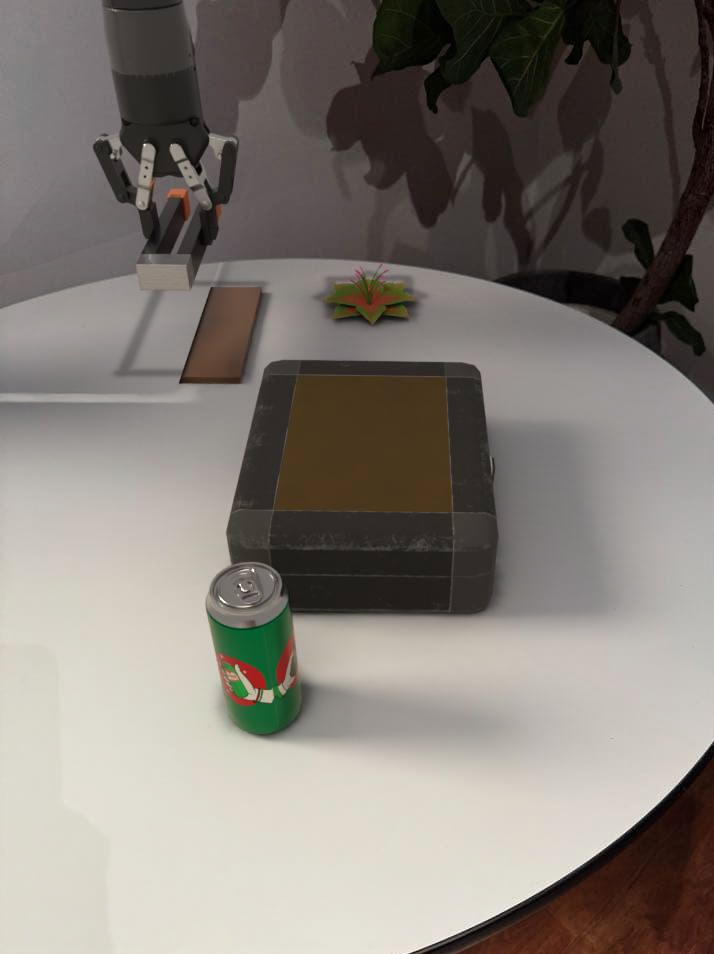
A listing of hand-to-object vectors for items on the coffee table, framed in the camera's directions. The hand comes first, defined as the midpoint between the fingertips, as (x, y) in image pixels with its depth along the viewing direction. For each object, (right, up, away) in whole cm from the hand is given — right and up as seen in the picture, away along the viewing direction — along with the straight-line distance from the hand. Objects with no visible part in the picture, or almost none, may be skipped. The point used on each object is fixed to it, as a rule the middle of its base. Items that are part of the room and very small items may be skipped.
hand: (183, 241), depth 90 cm
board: (0, -8, +7) cm, 11 cm away
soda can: (+13, -43, -30) cm, 54 cm away
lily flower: (+19, -3, +13) cm, 23 cm away
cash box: (+20, -28, -14) cm, 38 cm away
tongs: (0, 0, 0) cm, 1 cm away
